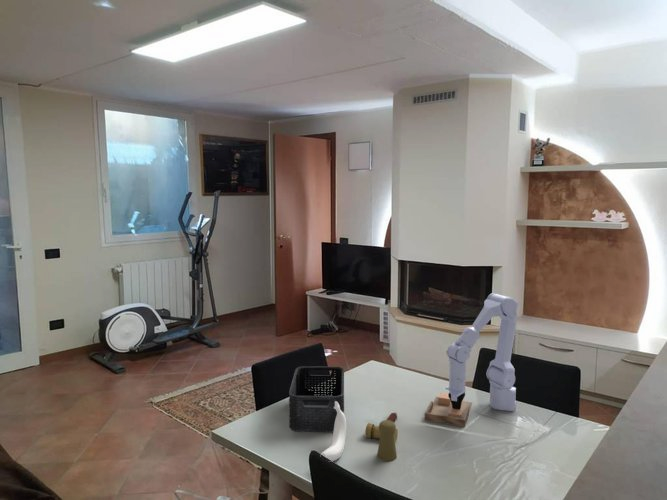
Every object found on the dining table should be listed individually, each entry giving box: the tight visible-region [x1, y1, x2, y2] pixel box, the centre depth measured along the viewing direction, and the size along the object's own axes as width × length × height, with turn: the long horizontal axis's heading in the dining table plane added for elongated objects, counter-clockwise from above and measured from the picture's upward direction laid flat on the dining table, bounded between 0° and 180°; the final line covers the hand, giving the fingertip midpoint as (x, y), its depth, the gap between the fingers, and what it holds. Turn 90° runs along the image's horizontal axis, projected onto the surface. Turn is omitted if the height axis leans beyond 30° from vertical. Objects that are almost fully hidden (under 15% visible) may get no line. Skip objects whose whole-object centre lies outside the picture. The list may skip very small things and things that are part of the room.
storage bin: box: [288, 365, 345, 433], centre depth 173 cm, size 29×19×13 cm
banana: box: [320, 401, 347, 462], centre depth 144 cm, size 5×19×15 cm, turn 167°
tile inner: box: [448, 408, 463, 418], centre depth 168 cm, size 4×4×2 cm
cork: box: [376, 419, 398, 462], centre depth 144 cm, size 6×6×11 cm
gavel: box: [364, 411, 399, 443], centre depth 163 cm, size 21×5×10 cm
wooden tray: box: [424, 396, 473, 428], centre depth 174 cm, size 14×22×3 cm, turn 157°
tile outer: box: [437, 392, 451, 405], centre depth 182 cm, size 4×4×2 cm
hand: (456, 412), depth 171 cm, fingers closed
